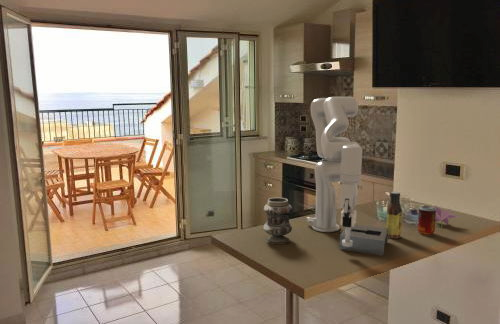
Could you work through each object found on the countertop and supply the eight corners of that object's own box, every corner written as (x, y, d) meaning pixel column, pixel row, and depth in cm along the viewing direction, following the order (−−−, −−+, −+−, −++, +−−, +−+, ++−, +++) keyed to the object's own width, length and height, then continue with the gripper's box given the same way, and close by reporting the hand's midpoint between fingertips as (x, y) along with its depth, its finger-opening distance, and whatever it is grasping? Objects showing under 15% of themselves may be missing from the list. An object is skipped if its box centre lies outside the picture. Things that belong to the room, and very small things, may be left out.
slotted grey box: (339, 249, 174) (340, 235, 173) (347, 236, 188) (347, 223, 187) (383, 255, 167) (384, 240, 166) (387, 242, 182) (388, 228, 181)
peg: (339, 246, 165) (340, 212, 162) (342, 241, 169) (343, 208, 167) (352, 248, 163) (354, 214, 160) (354, 243, 167) (356, 210, 165)
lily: (461, 230, 201) (459, 210, 204) (449, 225, 194) (448, 204, 197) (435, 232, 209) (435, 212, 213) (423, 227, 202) (423, 207, 205)
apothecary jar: (285, 234, 192) (285, 195, 189) (296, 243, 181) (297, 201, 178) (259, 237, 188) (259, 197, 185) (269, 246, 177) (269, 204, 174)
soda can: (421, 230, 197) (423, 204, 195) (437, 233, 192) (439, 207, 190) (414, 233, 193) (416, 207, 191) (429, 237, 188) (431, 210, 186)
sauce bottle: (401, 239, 185) (404, 194, 181) (386, 238, 186) (388, 194, 183) (399, 234, 191) (402, 191, 188) (384, 233, 192) (387, 190, 189)
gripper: (344, 172, 170) (342, 216, 174) (335, 182, 155) (333, 230, 158) (364, 174, 167) (361, 218, 171) (356, 184, 152) (354, 233, 155)
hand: (348, 223), depth 164 cm, fingers closed on peg, 5 cm apart
